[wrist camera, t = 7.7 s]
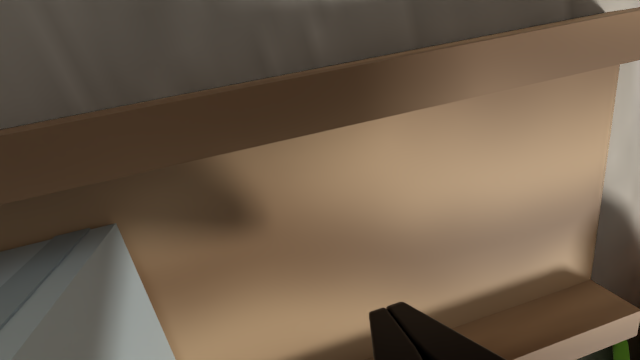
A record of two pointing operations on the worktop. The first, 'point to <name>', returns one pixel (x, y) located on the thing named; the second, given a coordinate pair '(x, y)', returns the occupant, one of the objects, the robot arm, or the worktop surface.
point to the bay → (355, 197)
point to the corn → (621, 351)
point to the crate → (77, 301)
